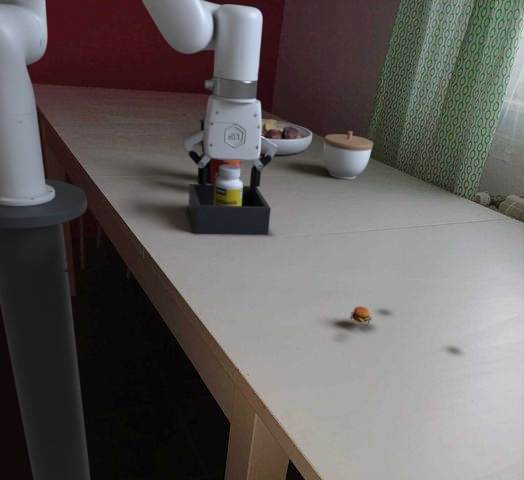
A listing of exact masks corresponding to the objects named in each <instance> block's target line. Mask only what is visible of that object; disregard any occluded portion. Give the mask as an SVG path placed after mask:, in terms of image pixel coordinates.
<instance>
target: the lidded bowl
mask: <svg viewBox="0 0 524 480" xmlns="http://www.w3.org/2000/svg"><path fill="white" fill-rule="evenodd" d="M353 133H354V132H353V131H351V130H349V131H347V134H344V133H343V134H342V133H341V134H340V133H331V134H327V135H325V136H324V140H323V150H322V157H323V163H324V166H325V169H326V170H327V171H328V173H329V176H332V177H333V178H336V179H337V178H338V179H343V180H353V179H356V178H357V176H358V175H360V174H361V173H363V171H364V170H365V169H366V167H367V165H368V163H369V161H370V157H371V153H372V150H373V147H374V142H373V141H372V140H370V139H367V138H365V137H362V136H357V135H353Z"/></svg>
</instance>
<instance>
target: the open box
mask: <svg viewBox="0 0 524 480" xmlns="http://www.w3.org/2000/svg"><path fill="white" fill-rule="evenodd" d="M214 187H215V185H211V183H207V186H206V190H202V188H201V184H198V183H189V184H188V211H189V214H190V218H191V221H192V225H193V229H194V232H195V234H209V235H212V234H213V235H263V236H264V235H265V236H266V235H267V236H268V235H269V228H270V217H271V210H272V209H271V207H270V205H269V203H268V201H267V200H266V199H265V197H264V196H263V194H262V193H261V191H260V190H259V188H258V187H257V190H256V192H253V191H252V190H251V188H250V185H243V193H242V205H241V206H218V205H213V204H214Z"/></svg>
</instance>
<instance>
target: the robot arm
mask: <svg viewBox="0 0 524 480" xmlns="http://www.w3.org/2000/svg"><path fill="white" fill-rule="evenodd" d="M141 2H142V3H143V5H144V7H145V8H146V10H147V12H148V13H149V15H150V17H151V18H152V20H153V22H154V24H155V25H156V27H157V29H158V31H159V32H160V34H161V35H162V37H163V39H164V40H165V42H167V43H168V45H169V46H170V47H171V48H172V49H174V50H175V51H177V52H179V53H181V54H185V55H189V54H191V55H192V54H195V53H198V52H202V51H214V59H213V61H214V62H213V75H212V77H211V79H205V80H204V89H206V90H209V91H211V92H212V94H211V95H209V96H208V99H207V104H206V109H205V114H204V116H205V123H204V130H203V131H201V130H200V131H198V132H197V133H195V134H193V135H191V136H189V137H187V138H185V139H183V140H182V143H183V146H184V148H185V150H186V152H187V154H188V156H189V158H190V159H191V160H192V161H193V162H194V163H195V165H196V166H197V184H201V188H202V190H206V186H207V184H208V183H207V168H206V164H207V163H208V162H209V161H210V159H218V160H236V161H241V162H252V164H253V165H252V167H251V168H250V179H249V186H250V188H251V190H252V191H253V192H256V190H257V188H258V187H261V186H260V185H261V177H262V176H261V175H262V171H263V170H264V168H265V167H266V166H267V165H269V163H271V162H272V159H273V158H274V156H276V155H275V153H276V151H277V150H278V147H277V146H276V145H275V144H274V143H272V142H271V141H269V140H268V139H266V138H265V137H263V136H262V135H261V124H262V122H261V119H262V103H261V100H258V99H257V91H258V79H259V69H260V55H261V43H262V33H263V14H262V12H261V10H260V9H258V8H257V7H254V6H247V5H241V4H232V3H231V4H230V3H228V4H227V3H226V4H218V3H214V2H209V1H207V0H141ZM46 6H47V5H46V0H0V205H5V206H32V205H39V204H43V203H46V202H49V201H51V200H52V199H53V198H54V197H55V190H54V189H53V188H52V187H51V186H49V185H46V184H45V179H46V178H45V169H44V161H43V152H42V144H41V136H40V127H39V122H38V120H39V119H38V113H37V105H36V97H35V92H34V88H33V83H32V81H31V78H30V75H29V71H28V68H27V66H30V65H32V64H34V63H36V62H38V61H39V60H41V58H42V57H44V54H45V52H46V49H47V44H48V21H47V7H46ZM202 140H203V149H204V151H203V153H202V152H201V154H198V153H197V152H196V151H195V149H194V145H197V144H198V143H200V142H202ZM261 144H262V145H264V146H265V147H267V148H268V150H267V152H266V154H263V155H262V156H261V154H260V151H261ZM260 156H261V157H260Z"/></svg>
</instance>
